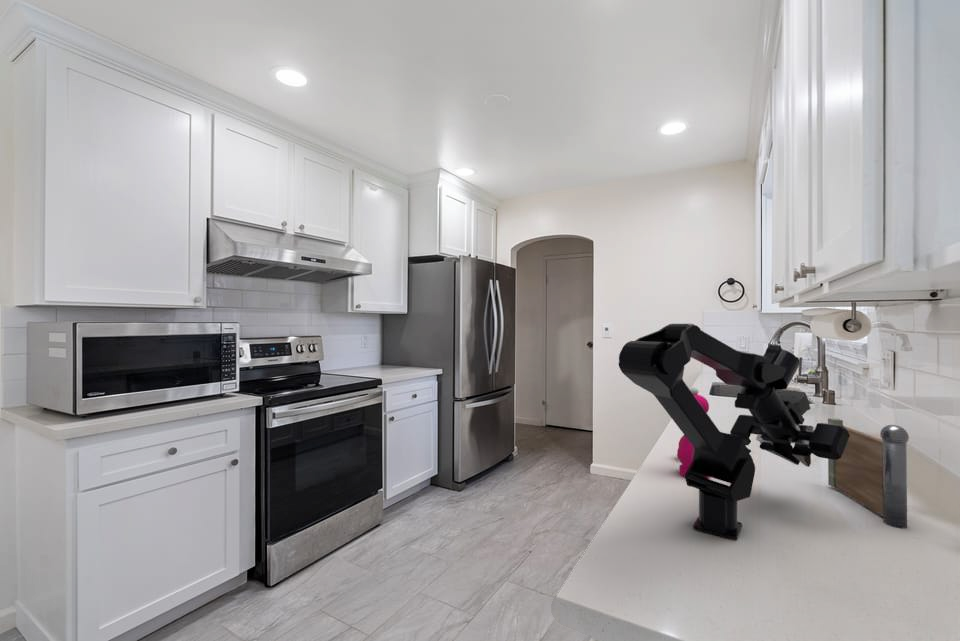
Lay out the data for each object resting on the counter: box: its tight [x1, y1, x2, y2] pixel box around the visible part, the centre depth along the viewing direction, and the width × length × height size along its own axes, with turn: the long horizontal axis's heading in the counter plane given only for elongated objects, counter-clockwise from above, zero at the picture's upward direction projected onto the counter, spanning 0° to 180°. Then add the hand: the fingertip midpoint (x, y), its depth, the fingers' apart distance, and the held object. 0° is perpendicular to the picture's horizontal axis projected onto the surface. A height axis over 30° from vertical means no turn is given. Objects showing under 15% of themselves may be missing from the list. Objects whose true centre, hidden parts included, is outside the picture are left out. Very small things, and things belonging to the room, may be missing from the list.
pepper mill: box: [676, 386, 711, 479], centre depth 102 cm, size 7×7×20 cm
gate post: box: [879, 424, 910, 529], centre depth 77 cm, size 4×4×17 cm
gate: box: [827, 417, 883, 517], centre depth 86 cm, size 2×16×14 cm, turn 170°
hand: (803, 463), depth 86 cm, fingers closed
